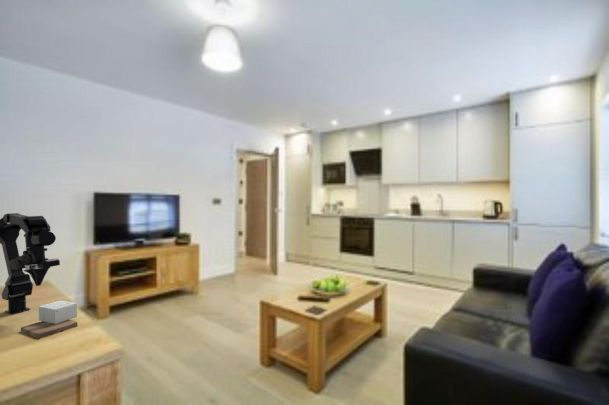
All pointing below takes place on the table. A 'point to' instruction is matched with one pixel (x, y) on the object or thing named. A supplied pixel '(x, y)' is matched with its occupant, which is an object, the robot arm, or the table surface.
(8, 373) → the table surface
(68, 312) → the small box
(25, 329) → the floor panel
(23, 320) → the table surface
